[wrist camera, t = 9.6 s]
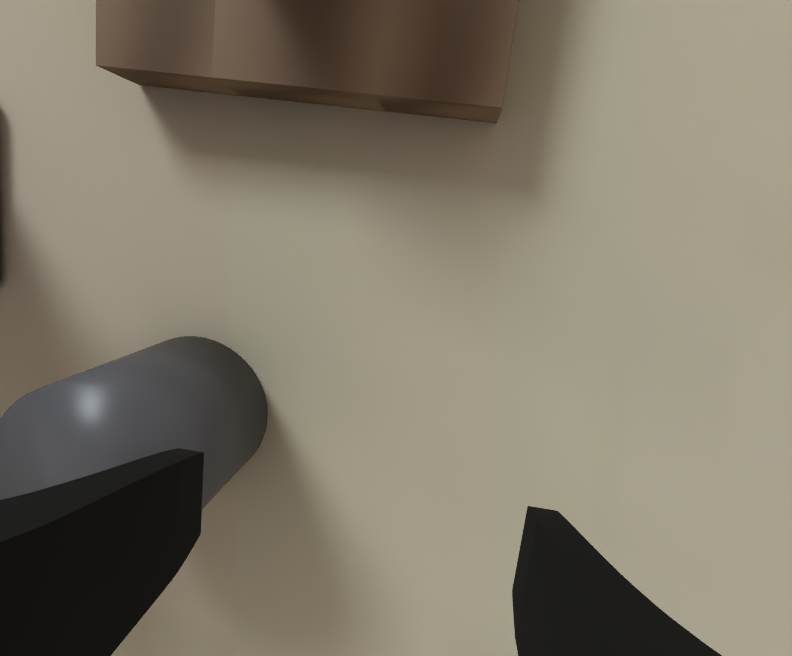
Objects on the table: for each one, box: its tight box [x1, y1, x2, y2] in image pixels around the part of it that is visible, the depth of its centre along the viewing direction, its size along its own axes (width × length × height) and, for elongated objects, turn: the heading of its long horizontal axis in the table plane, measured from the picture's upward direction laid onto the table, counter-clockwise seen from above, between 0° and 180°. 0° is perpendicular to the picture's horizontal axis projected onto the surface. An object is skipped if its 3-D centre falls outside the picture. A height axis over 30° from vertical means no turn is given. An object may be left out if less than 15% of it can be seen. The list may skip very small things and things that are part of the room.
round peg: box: [0, 336, 267, 509], centre depth 19 cm, size 6×6×7 cm
